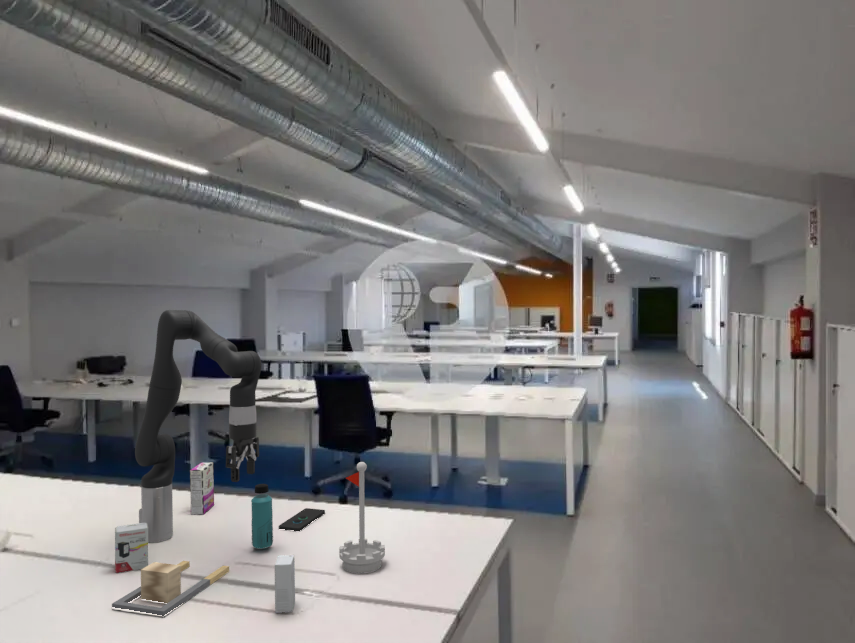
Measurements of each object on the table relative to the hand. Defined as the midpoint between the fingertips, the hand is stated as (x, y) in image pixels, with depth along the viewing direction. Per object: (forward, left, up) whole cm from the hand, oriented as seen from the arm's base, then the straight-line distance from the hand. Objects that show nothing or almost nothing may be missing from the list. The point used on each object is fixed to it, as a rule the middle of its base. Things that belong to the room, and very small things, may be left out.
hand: (243, 477), depth 181 cm
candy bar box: (-42, +41, -26) cm, 64 cm away
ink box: (-30, -9, -26) cm, 41 cm away
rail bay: (-9, -17, -26) cm, 32 cm away
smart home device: (-2, +40, -26) cm, 48 cm away
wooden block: (-9, -23, -26) cm, 36 cm away
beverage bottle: (-1, +13, -26) cm, 29 cm away
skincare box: (+24, -19, -26) cm, 40 cm away
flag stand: (+33, +10, -26) cm, 43 cm away
